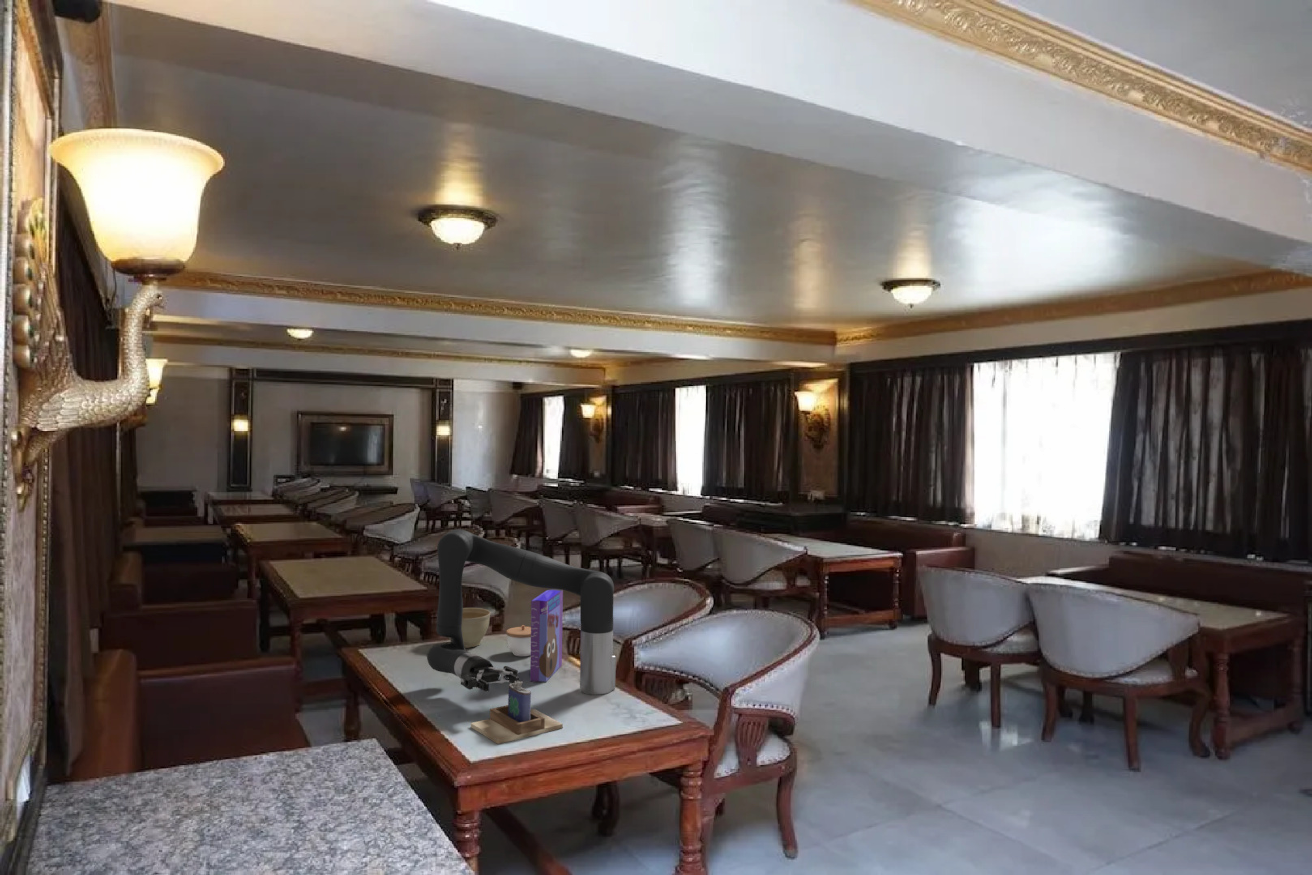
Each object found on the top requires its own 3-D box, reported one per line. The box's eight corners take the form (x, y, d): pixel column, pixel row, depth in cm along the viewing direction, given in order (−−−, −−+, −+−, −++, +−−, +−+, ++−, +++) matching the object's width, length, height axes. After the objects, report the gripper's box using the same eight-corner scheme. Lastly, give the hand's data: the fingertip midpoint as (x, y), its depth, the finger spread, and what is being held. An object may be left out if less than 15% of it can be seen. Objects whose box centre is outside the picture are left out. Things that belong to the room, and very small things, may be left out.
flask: (532, 727, 211) (532, 684, 211) (521, 730, 209) (522, 686, 209) (514, 717, 218) (514, 675, 218) (504, 719, 216) (504, 677, 216)
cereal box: (545, 682, 251) (547, 600, 250) (530, 681, 251) (531, 599, 251) (561, 665, 268) (562, 589, 267) (547, 664, 269) (548, 588, 268)
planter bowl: (439, 640, 296) (440, 609, 296) (487, 637, 301) (487, 606, 301) (442, 652, 281) (443, 619, 280) (492, 649, 286) (493, 616, 285)
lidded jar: (542, 656, 278) (543, 627, 277) (509, 659, 274) (510, 630, 274) (534, 648, 288) (535, 620, 287) (503, 651, 284) (503, 622, 283)
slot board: (533, 712, 225) (533, 699, 225) (562, 727, 214) (562, 714, 214) (470, 726, 213) (471, 713, 213) (498, 744, 202) (498, 729, 202)
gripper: (449, 659, 227) (477, 674, 214) (497, 651, 236) (527, 665, 223) (448, 687, 227) (477, 704, 215) (496, 678, 236) (527, 693, 224)
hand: (502, 684), depth 219 cm, fingers open, 8 cm apart
